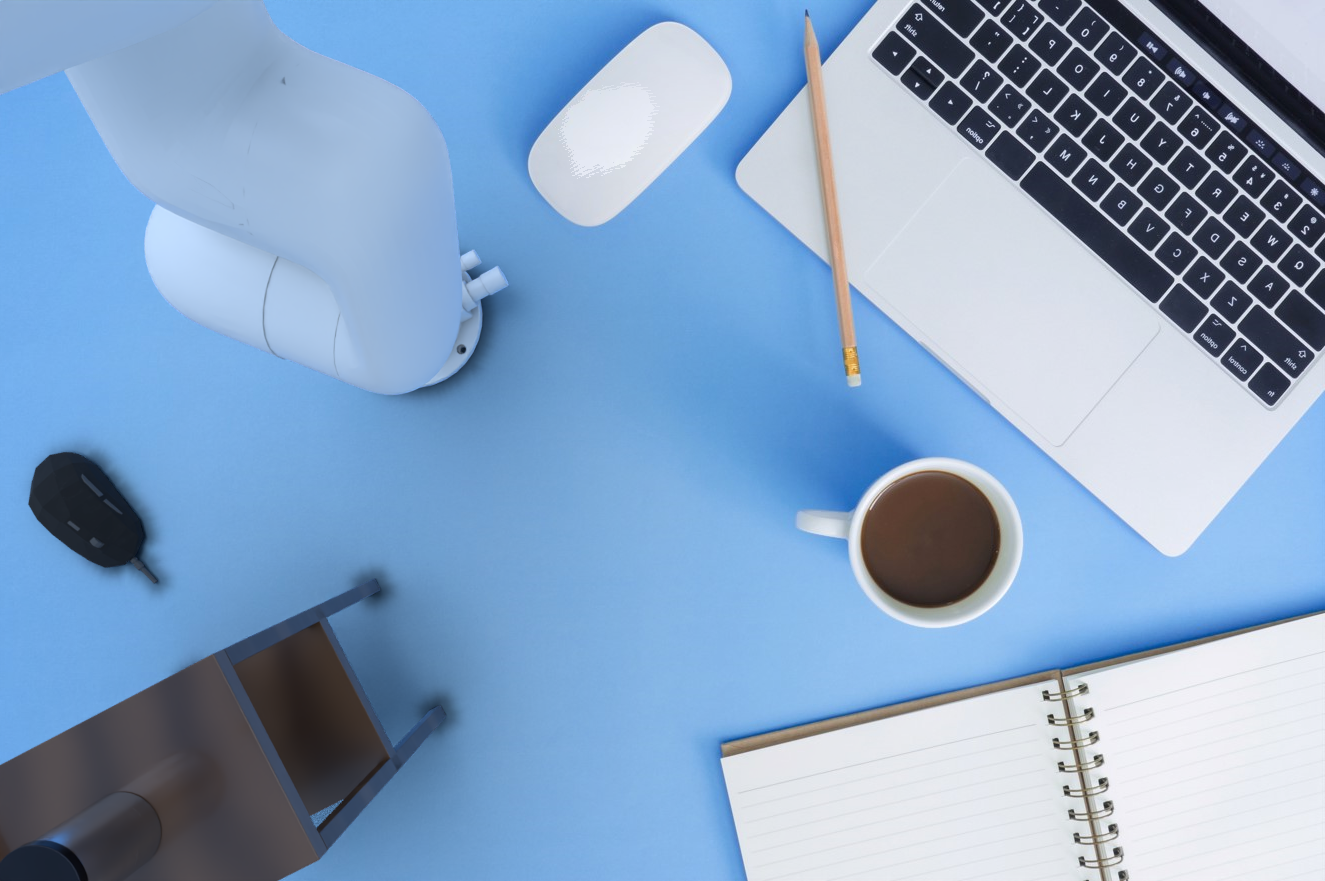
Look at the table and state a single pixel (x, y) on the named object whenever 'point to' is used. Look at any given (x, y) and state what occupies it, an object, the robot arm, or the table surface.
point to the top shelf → (173, 780)
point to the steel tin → (90, 844)
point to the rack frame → (322, 713)
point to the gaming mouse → (85, 511)
